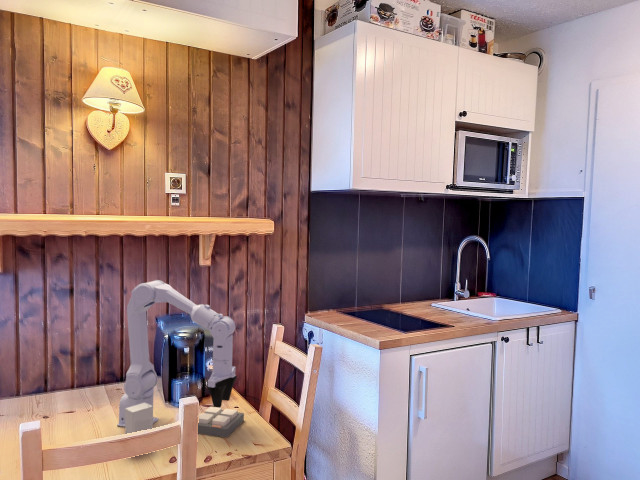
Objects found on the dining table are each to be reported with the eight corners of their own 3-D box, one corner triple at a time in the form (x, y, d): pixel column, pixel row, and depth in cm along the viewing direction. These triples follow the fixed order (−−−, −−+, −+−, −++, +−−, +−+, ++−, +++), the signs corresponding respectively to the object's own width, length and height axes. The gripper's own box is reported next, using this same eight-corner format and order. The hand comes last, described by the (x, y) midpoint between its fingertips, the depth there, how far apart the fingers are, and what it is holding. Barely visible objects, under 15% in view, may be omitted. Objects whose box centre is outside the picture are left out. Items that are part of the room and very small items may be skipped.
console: (188, 431, 140) (188, 422, 140) (208, 415, 152) (208, 407, 152) (226, 437, 137) (226, 428, 137) (243, 420, 149) (243, 412, 149)
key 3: (211, 426, 140) (212, 420, 140) (218, 421, 144) (218, 415, 144) (224, 428, 139) (224, 422, 139) (230, 423, 143) (230, 416, 143)
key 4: (220, 419, 145) (220, 413, 145) (225, 414, 149) (226, 408, 149) (232, 421, 144) (232, 415, 144) (237, 416, 148) (237, 410, 148)
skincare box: (144, 444, 132) (145, 401, 132) (152, 449, 129) (153, 405, 129) (123, 451, 127) (124, 407, 127) (132, 457, 125) (132, 412, 124)
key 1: (195, 424, 142) (195, 417, 141) (202, 419, 145) (202, 412, 145) (207, 426, 141) (207, 419, 140) (213, 421, 144) (213, 414, 144)
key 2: (204, 417, 147) (204, 411, 147) (210, 412, 151) (210, 406, 151) (215, 419, 146) (216, 412, 146) (221, 414, 150) (221, 408, 150)
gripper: (224, 366, 133) (222, 414, 133) (244, 353, 147) (243, 396, 147) (201, 364, 135) (200, 411, 135) (224, 351, 149) (223, 393, 149)
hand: (221, 403), depth 141 cm, fingers open, 5 cm apart
